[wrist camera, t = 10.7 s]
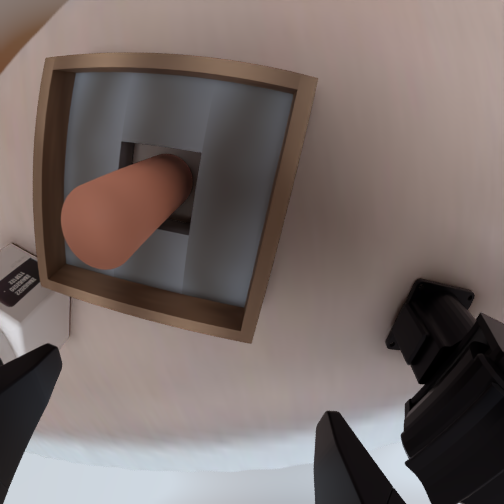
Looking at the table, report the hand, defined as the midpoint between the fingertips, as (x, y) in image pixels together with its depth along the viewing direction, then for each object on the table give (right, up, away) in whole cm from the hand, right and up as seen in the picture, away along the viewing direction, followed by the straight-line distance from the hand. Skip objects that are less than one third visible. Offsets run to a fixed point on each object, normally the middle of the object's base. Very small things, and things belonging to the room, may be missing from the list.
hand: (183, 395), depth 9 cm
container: (-18, +1, +15) cm, 23 cm away
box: (-4, +9, +11) cm, 14 cm away
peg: (-3, +9, +11) cm, 14 cm away
